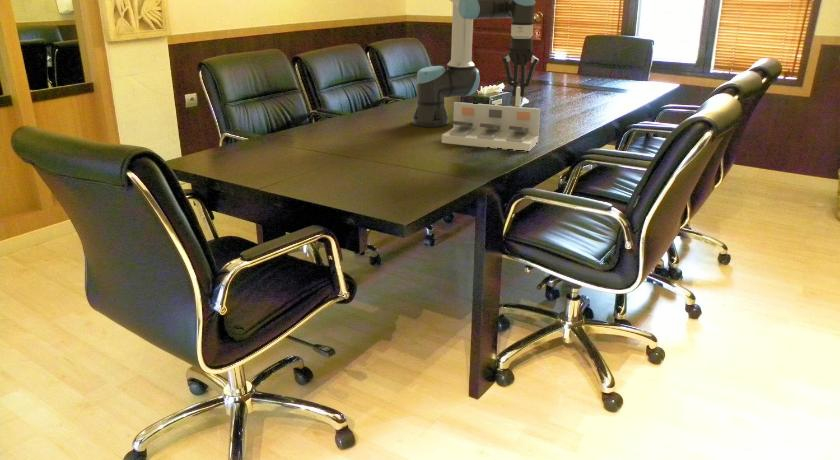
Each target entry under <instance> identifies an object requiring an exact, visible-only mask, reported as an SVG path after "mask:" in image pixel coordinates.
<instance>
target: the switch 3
mask: <svg viewBox="0 0 840 460" xmlns="http://www.w3.org/2000/svg"><path fill="white" fill-rule="evenodd" d="M509 129H510V130H516V131H527V132H528V128H524V127H521V126H509Z"/></svg>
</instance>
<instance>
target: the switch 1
mask: <svg viewBox="0 0 840 460" xmlns="http://www.w3.org/2000/svg"><path fill="white" fill-rule="evenodd" d="M453 124H454V125H461V126H472V125H473V123H468V122H465V121H454V120H452V121H451V125H453Z"/></svg>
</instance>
